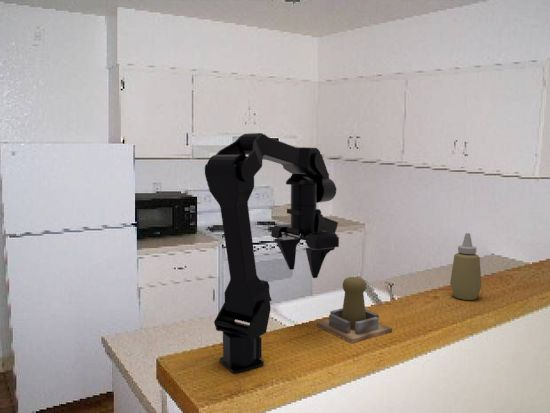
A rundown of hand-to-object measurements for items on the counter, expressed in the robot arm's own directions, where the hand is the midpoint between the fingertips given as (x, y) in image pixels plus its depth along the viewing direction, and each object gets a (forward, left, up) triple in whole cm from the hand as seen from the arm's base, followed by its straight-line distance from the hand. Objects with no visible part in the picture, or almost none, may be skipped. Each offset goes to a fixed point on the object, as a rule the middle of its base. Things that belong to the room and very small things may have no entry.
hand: (302, 273), depth 104 cm
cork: (+10, -7, -12) cm, 17 cm away
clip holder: (+10, -6, -13) cm, 17 cm away
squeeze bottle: (+52, -5, -13) cm, 53 cm away
